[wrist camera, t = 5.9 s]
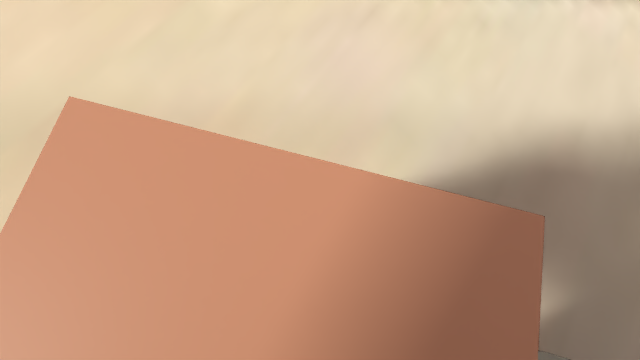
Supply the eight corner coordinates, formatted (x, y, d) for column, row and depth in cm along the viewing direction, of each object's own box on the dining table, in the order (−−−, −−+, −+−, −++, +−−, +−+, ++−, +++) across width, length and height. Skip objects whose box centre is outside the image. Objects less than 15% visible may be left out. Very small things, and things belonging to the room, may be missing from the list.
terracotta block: (323, 386, 14) (507, 986, 2) (203, 357, 14) (-290, 811, 2) (348, 264, 16) (544, 215, 4) (240, 237, 16) (69, 95, 4)
